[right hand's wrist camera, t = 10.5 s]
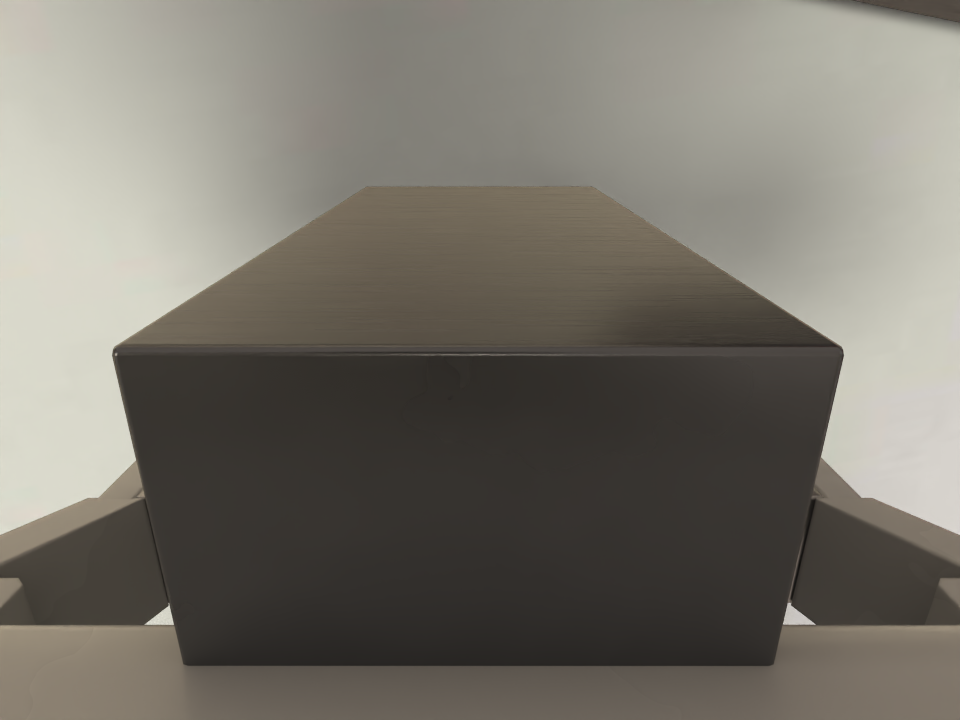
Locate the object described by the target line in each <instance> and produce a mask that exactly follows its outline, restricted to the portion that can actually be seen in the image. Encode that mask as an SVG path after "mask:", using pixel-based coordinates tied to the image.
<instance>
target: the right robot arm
mask: <svg viewBox="0 0 960 720" xmlns="http://www.w3.org/2000/svg"><path fill="white" fill-rule="evenodd" d="M168 603H169V600H168V596H167V591H166V587H165V583H164V578H163V574H162V570H161V565H160V561H159V557H158V552H157V548H156V544H155V539H154V535H153V531H152V526H151V522H150V517H149V513H148V509H147V504H146V500H145V496H144V491H143V487H142V483H141V478H140V474H139V470H138V465H137V461H135V462H134V463H133V464H132V465H131V466H130V467H129V468H128V469H127V470H126V471H125V472H124V473H123V474H122V475H121V476H120V477H119V478H118V479H117V480H116V481H115V482H114V483H113V484H112V485H111V486H110V487H109V488H108V489H107V490H106V491H105V492H104V493H103V494H102V495H101V496H100V497H99V498H87V499H85V500H82V501H80V502H78V503H75V504H73V505H71V506H68V507H66V508H63V509H61V510H59V511H56V512H54V513H52V514H49V515H47V516H45V517H42V518H40V519H37V520H35V521H33V522H30V523H28V524H26V525H23V526H21V527H18V528H16V529H14V530H11V531H9V532H7V533H4V534H2V535H0V720H960V535H958V534H956V533H953V532H951V531H949V530H946V529H944V528H941V527H939V526H937V525H934V524H932V523H930V522H927V521H925V520H923V519H920V518H918V517H915V516H913V515H911V514H908V513H906V512H904V511H901V510H899V509H897V508H894V507H892V506H890V505H887V504H885V503H882V502H880V501H878V500H875V499H873V498H861V497H860V496H859V495H858V494H857V493H856V492H855V491H854V490H853V489H852V488H851V487H850V486H849V485H848V484H847V483H846V482H845V481H844V480H843V479H842V478H841V477H840V476H839V475H838V474H837V473H836V472H835V471H834V470H833V469H832V468H831V467H830V466H829V465H828V464H827V463H826V462H825V461H824V460H823V459H822V458H820V463H819V467H818V471H817V476H816V480H815V485H814V489H813V493H812V498H811V502H810V507H809V511H808V515H807V520H806V524H805V529H804V533H803V537H802V542H801V546H800V551H799V555H798V559H797V564H796V568H795V573H794V577H793V581H792V586H791V590H790V595H789V599H788V603H791V605H792V606H793V607H794V608H795V609H797V610H798V611H799V612H801V613H802V614H803V615H804V616H806V617H807V618H808V619H810V620H811V621H812V622H813V623H815V624H816V625H782V630H781V634H780V639H779V643H778V647H777V652H776V656H775V661H774V665H771V666H187V665H184V664H183V661H182V656H181V652H180V648H179V643H178V639H177V635H176V630H175V626H174V625H144V624H146V623H147V622H148V621H149V620H151V619H152V618H153V617H155V616H156V615H157V614H158V613H160V612H161V611H162V610H164V609H165V608H166V607H168V606H169V604H168Z"/></svg>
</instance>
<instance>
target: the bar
mask: <svg viewBox="0 0 960 720" xmlns="http://www.w3.org/2000/svg"><path fill="white" fill-rule="evenodd" d="M112 357H113V361H114V365H115V370H116V374H117V378H118V383H119V387H120V391H121V396H122V400H123V405H124V409H125V413H126V418H127V422H128V426H129V431H130V435H131V439H132V444H133V448H134V452H135V457H136V461H137V465H138V470H139V474H140V478H141V483H142V487H143V491H144V496H145V500H146V504H147V509H148V513H149V517H150V522H151V526H152V531H153V535H154V539H155V544H156V548H157V552H158V557H159V561H160V565H161V570H162V574H163V578H164V583H165V587H166V591H167V596H168V600H169V604H170V609H171V613H172V617H173V622H174V626H175V630H176V635H177V639H178V643H179V648H180V652H181V656H182V661H183V664H184V665H187V666H771V665H774V661H775V656H776V652H777V647H778V643H779V639H780V634H781V630H782V625H783V621H784V617H785V612H786V608H787V603H788V599H789V595H790V590H791V586H792V581H793V577H794V573H795V568H796V564H797V559H798V555H799V551H800V546H801V542H802V537H803V533H804V529H805V524H806V520H807V515H808V511H809V507H810V502H811V498H812V493H813V489H814V485H815V480H816V476H817V471H818V467H819V463H820V458H821V454H822V449H823V445H824V441H825V436H826V432H827V427H828V423H829V419H830V414H831V410H832V405H833V401H834V397H835V392H836V388H837V383H838V379H839V375H840V370H841V366H842V361H843V357H844V354H843V349H842V347H841V346H840V345H838V344H837V343H835V342H833V341H832V340H830V339H829V338H827V337H826V336H824V335H823V334H821V333H819V332H818V331H816V330H815V329H813V328H812V327H810V326H809V325H807V324H805V323H804V322H802V321H801V320H799V319H798V318H796V317H795V316H793V315H791V314H790V313H788V312H787V311H785V310H784V309H782V308H781V307H779V306H777V305H776V304H774V303H773V302H771V301H770V300H768V299H767V298H765V297H763V296H762V295H760V294H759V293H757V292H756V291H754V290H753V289H751V288H749V287H748V286H746V285H745V284H743V283H742V282H740V281H739V280H737V279H735V278H734V277H732V276H731V275H729V274H728V273H726V272H725V271H723V270H721V269H720V268H718V267H717V266H715V265H714V264H712V263H711V262H709V261H707V260H706V259H704V258H703V257H701V256H700V255H698V254H697V253H695V252H693V251H692V250H690V249H689V248H687V247H686V246H684V245H683V244H681V243H679V242H678V241H676V240H675V239H673V238H672V237H670V236H669V235H667V234H665V233H664V232H662V231H661V230H659V229H658V228H656V227H655V226H653V225H651V224H650V223H648V222H647V221H645V220H644V219H642V218H641V217H639V216H637V215H636V214H634V213H633V212H631V211H630V210H628V209H627V208H625V207H623V206H622V205H620V204H619V203H617V202H616V201H614V200H613V199H611V198H609V197H608V196H606V195H605V194H603V193H602V192H600V191H599V190H597V189H595V188H594V187H365V188H364V189H362V190H361V191H359V192H357V193H356V194H354V195H353V196H351V197H350V198H348V199H346V200H345V201H343V202H342V203H340V204H339V205H337V206H335V207H334V208H332V209H331V210H329V211H327V212H326V213H324V214H323V215H321V216H320V217H318V218H316V219H315V220H313V221H312V222H310V223H309V224H307V225H305V226H304V227H302V228H301V229H299V230H298V231H296V232H294V233H293V234H291V235H290V236H288V237H287V238H285V239H283V240H282V241H280V242H279V243H277V244H276V245H274V246H272V247H271V248H269V249H268V250H266V251H265V252H263V253H261V254H260V255H258V256H257V257H255V258H253V259H252V260H250V261H249V262H247V263H246V264H244V265H242V266H241V267H239V268H238V269H236V270H235V271H233V272H231V273H230V274H228V275H227V276H225V277H224V278H222V279H220V280H219V281H217V282H216V283H214V284H213V285H211V286H209V287H208V288H206V289H205V290H203V291H202V292H200V293H198V294H197V295H195V296H194V297H192V298H190V299H189V300H187V301H186V302H184V303H183V304H181V305H179V306H178V307H176V308H175V309H173V310H172V311H170V312H168V313H167V314H165V315H164V316H162V317H161V318H159V319H157V320H156V321H154V322H153V323H151V324H150V325H148V326H146V327H145V328H143V329H142V330H140V331H139V332H137V333H135V334H134V335H132V336H131V337H129V338H127V339H126V340H124V341H123V342H121V343H120V344H118V345H116V346H115V347H114V349H113V354H112Z"/></svg>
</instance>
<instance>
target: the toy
mask: <svg viewBox="0 0 960 720" xmlns="http://www.w3.org/2000/svg"><path fill="white" fill-rule="evenodd" d="M854 1H859V2H864V3H869V4H873V5H878V6H883V7H888V8H893V9H898V10H903V11H908V12H913V13H918V14H922V15H927V16H932V17H937V18H942V19H947V20H952V21H957V22H960V0H854Z"/></svg>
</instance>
